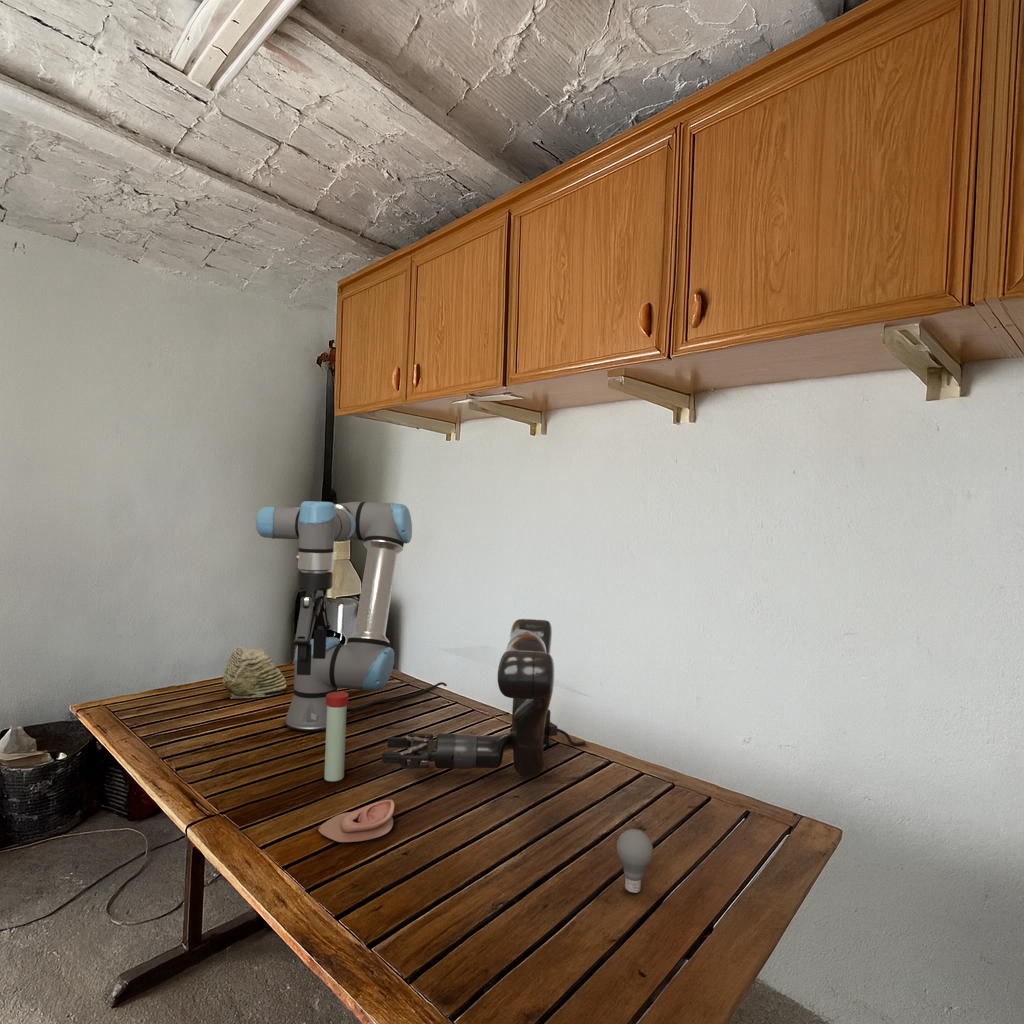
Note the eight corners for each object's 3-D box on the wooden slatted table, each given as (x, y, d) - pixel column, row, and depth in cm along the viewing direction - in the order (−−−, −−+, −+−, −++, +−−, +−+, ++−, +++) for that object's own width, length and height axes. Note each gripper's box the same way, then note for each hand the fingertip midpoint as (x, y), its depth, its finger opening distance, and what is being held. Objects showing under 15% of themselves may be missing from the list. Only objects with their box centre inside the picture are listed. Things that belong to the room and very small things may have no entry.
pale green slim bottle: (345, 779, 142) (348, 698, 142) (326, 782, 140) (329, 700, 140) (341, 771, 146) (344, 693, 146) (322, 774, 144) (325, 694, 144)
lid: (350, 705, 142) (350, 696, 142) (328, 708, 140) (328, 699, 140) (345, 699, 146) (345, 690, 146) (324, 701, 144) (324, 692, 144)
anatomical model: (310, 816, 117) (339, 789, 129) (309, 837, 117) (338, 808, 129) (377, 827, 115) (401, 798, 126) (376, 848, 115) (400, 818, 126)
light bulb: (610, 879, 108) (613, 822, 108) (644, 879, 109) (647, 822, 109) (619, 902, 102) (622, 840, 102) (655, 901, 103) (658, 840, 103)
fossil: (218, 695, 195) (220, 647, 195) (278, 685, 208) (279, 640, 207) (228, 703, 189) (230, 653, 188) (289, 692, 201) (290, 645, 201)
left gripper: (312, 564, 152) (309, 651, 153) (281, 577, 128) (277, 682, 128) (343, 565, 153) (340, 652, 153) (318, 578, 128) (315, 682, 129)
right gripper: (458, 723, 152) (389, 722, 151) (456, 747, 137) (380, 745, 136) (456, 754, 152) (388, 753, 151) (454, 781, 138) (379, 779, 137)
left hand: (311, 666), depth 141 cm, fingers open, 13 cm apart
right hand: (385, 749), depth 144 cm, fingers open, 8 cm apart
